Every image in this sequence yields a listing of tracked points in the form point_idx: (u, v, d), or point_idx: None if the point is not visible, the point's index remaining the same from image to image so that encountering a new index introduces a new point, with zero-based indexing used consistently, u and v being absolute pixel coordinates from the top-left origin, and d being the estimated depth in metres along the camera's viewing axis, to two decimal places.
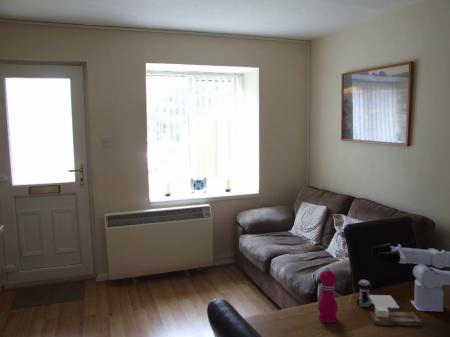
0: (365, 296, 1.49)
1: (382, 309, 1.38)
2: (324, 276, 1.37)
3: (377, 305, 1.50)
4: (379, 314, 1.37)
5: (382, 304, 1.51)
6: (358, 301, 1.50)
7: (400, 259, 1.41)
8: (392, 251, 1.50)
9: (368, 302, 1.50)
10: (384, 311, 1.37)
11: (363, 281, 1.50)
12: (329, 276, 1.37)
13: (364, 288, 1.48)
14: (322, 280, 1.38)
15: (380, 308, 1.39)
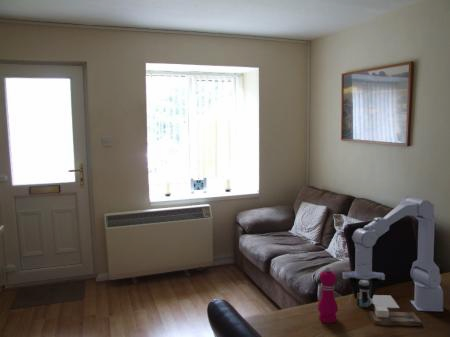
0: (365, 296, 1.49)
1: (382, 309, 1.38)
2: (324, 276, 1.37)
3: (377, 305, 1.50)
4: (379, 314, 1.37)
5: (382, 304, 1.51)
6: (358, 301, 1.50)
7: None
8: (356, 278, 1.38)
9: (368, 302, 1.50)
10: (384, 311, 1.37)
11: (363, 281, 1.50)
12: (329, 276, 1.37)
13: (364, 288, 1.48)
14: (322, 280, 1.38)
15: (380, 308, 1.39)
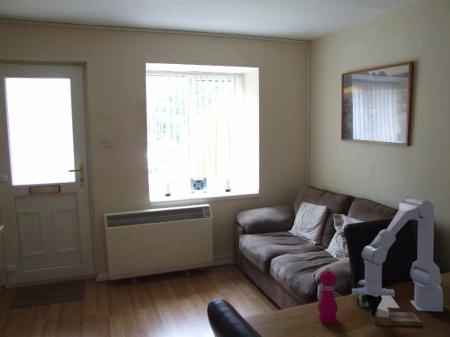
0: None
1: (382, 309, 1.38)
2: (324, 276, 1.37)
3: None
4: (380, 314, 1.37)
5: (382, 304, 1.51)
6: (358, 301, 1.50)
7: None
8: (366, 295, 1.38)
9: None
10: (385, 311, 1.37)
11: (363, 281, 1.50)
12: (329, 276, 1.37)
13: None
14: (322, 280, 1.38)
15: (380, 308, 1.39)
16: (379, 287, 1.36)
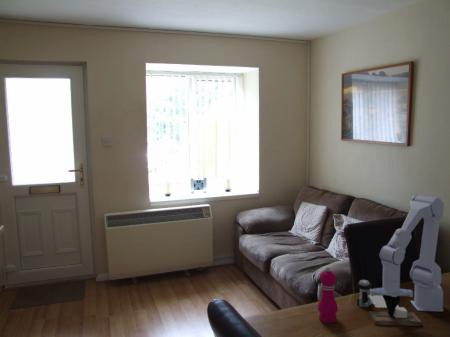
0: (365, 296, 1.49)
1: (400, 309, 1.38)
2: (324, 276, 1.37)
3: (377, 305, 1.50)
4: (398, 314, 1.37)
5: (382, 304, 1.51)
6: (358, 301, 1.50)
7: None
8: (384, 295, 1.38)
9: (368, 302, 1.50)
10: (403, 311, 1.36)
11: (363, 281, 1.50)
12: (329, 276, 1.37)
13: (364, 288, 1.48)
14: (322, 280, 1.38)
15: (398, 308, 1.38)
16: (397, 287, 1.35)
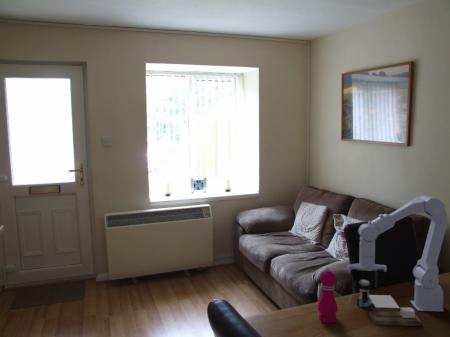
0: (365, 296, 1.49)
1: (408, 309, 1.37)
2: (324, 276, 1.37)
3: (377, 305, 1.50)
4: (405, 315, 1.36)
5: (382, 304, 1.51)
6: (358, 301, 1.50)
7: None
8: None
9: (368, 302, 1.50)
10: (410, 311, 1.36)
11: (363, 281, 1.50)
12: (329, 276, 1.37)
13: (364, 288, 1.48)
14: (322, 280, 1.38)
15: (406, 309, 1.38)
16: (372, 262, 1.46)
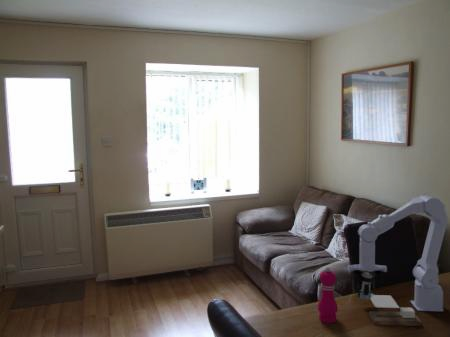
0: (367, 289, 1.49)
1: (408, 309, 1.37)
2: (324, 276, 1.37)
3: (377, 305, 1.50)
4: (405, 315, 1.36)
5: (382, 304, 1.51)
6: (359, 293, 1.50)
7: None
8: None
9: (369, 295, 1.50)
10: (410, 311, 1.36)
11: (366, 274, 1.49)
12: (329, 276, 1.37)
13: (367, 280, 1.47)
14: (322, 280, 1.38)
15: (406, 309, 1.38)
16: (372, 263, 1.46)
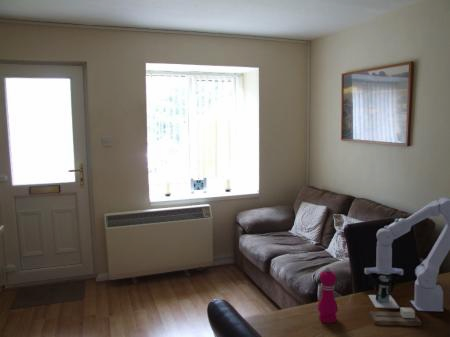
0: (384, 292, 1.52)
1: (408, 309, 1.37)
2: (324, 276, 1.37)
3: (377, 305, 1.50)
4: (405, 315, 1.36)
5: (382, 304, 1.51)
6: (377, 296, 1.53)
7: None
8: (377, 273, 1.52)
9: (387, 298, 1.52)
10: (410, 311, 1.36)
11: (383, 277, 1.52)
12: (329, 276, 1.37)
13: (384, 284, 1.50)
14: (322, 280, 1.38)
15: (406, 309, 1.38)
16: (389, 266, 1.49)
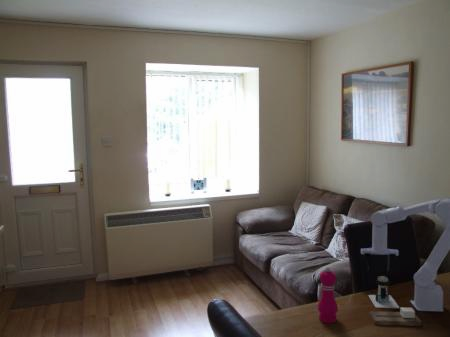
0: (384, 292, 1.52)
1: (408, 309, 1.37)
2: (324, 276, 1.37)
3: (377, 305, 1.50)
4: (405, 315, 1.36)
5: (382, 304, 1.51)
6: (376, 297, 1.53)
7: None
8: None
9: (386, 298, 1.52)
10: (410, 311, 1.36)
11: (382, 277, 1.52)
12: (329, 276, 1.37)
13: (383, 284, 1.50)
14: (322, 280, 1.38)
15: (406, 309, 1.38)
16: (384, 246, 1.55)
